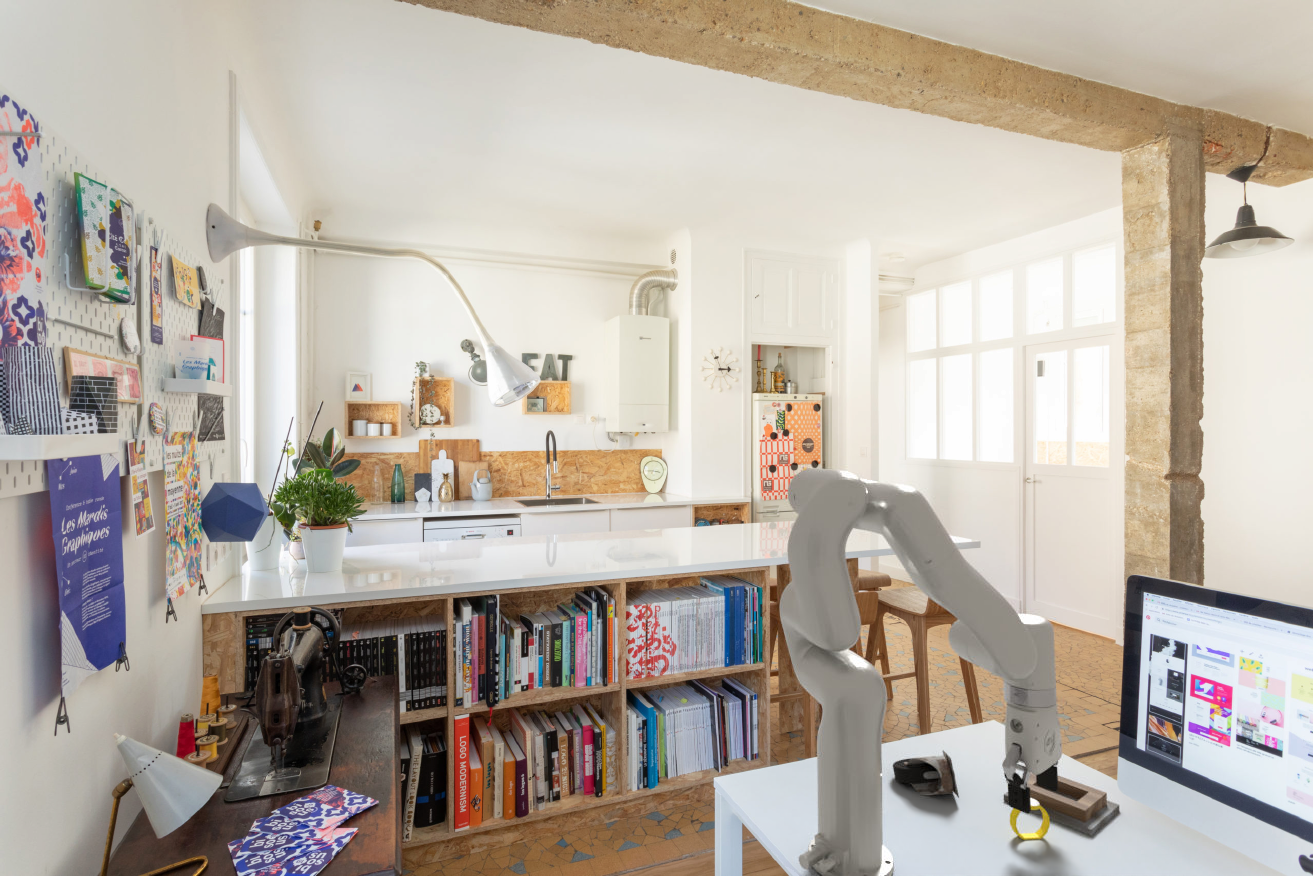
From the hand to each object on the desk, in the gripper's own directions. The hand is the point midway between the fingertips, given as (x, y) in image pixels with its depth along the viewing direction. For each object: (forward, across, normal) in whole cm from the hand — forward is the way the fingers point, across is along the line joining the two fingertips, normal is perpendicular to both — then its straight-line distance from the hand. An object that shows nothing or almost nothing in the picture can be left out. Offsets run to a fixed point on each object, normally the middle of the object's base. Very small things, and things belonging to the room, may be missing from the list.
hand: (1033, 798), depth 111 cm
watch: (+6, -1, 0) cm, 6 cm away
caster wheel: (+6, 0, +20) cm, 21 cm away
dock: (+6, +13, +2) cm, 15 cm away
